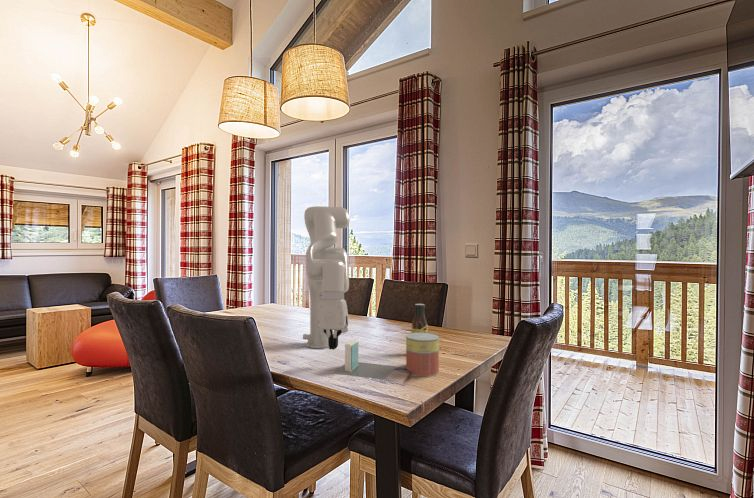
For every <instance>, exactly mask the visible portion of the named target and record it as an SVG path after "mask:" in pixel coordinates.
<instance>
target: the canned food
mask: <svg viewBox="0 0 754 498" xmlns="http://www.w3.org/2000/svg"><path fill="white" fill-rule="evenodd" d="M405 337H406V343H405V345H406V351H405V355H406V357H405V360H406V362H405V364H406V366H405V368H406V370H407V371H409V373H408V374H409V375H411V376H415V377H426V378H427V377H433V376H437V375H438V374H439V373H440V370H439V369H440V368H439V367H440V365H439V364H440V360H439V359H440V355H439V354H440V336H439V335H438V334H435V333H430V332H428V333H421V332H420V333H412V332H411V333H407V334H406V335H405Z"/></svg>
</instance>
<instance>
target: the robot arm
mask: <svg viewBox="0 0 754 498" xmlns="http://www.w3.org/2000/svg"><path fill="white" fill-rule="evenodd" d="M303 217H304V224H305V227H306V231H307V234H308V236H309V239H310V240H309V241H310V244H309V245H308V247H307V249H306V253H305V271H306V277H308V279H307V284H308V291H309V299H310V300H309V301H310V302H309V303H310V304H309V305H310V306H309V307H310V308H309V309H310V311H309V312H310V315H309V319H310V320H309V325H310V326H309V328H310V329H309V331H310V334H309V333H304V334H302V340H307V342H306V347H308V348H310V349H323V350H324V349H329V350H336V349H337V348H338V347H339V337H340V335H342V334H345V333H348V332H349V328H348V326H349V313H348V310H349V309H348V305H347V300H346V299H345V293H347V292H348V291H349V288H350V274H349V259H348V253H347V250H345V248H344V247H333V246H335V244H336V243H337V242H338V232H337V229H347V228H348V226H349V225H350V219H351V218H350V213H349V212H348V210H347V208H345V207H343V206H342V207H340V206H322V205H321V206H310V207H307V208H306V209H305V210H304V215H303Z"/></svg>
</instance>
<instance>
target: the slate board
mask: <svg viewBox="0 0 754 498" xmlns="http://www.w3.org/2000/svg"><path fill="white" fill-rule="evenodd" d="M396 367H397V365H389V364H380V363H372V362H371V363H369V362H363V361H362V362H360V361H358V366H357V367H355V368H354V369H353V370H352V371H351V372H350V371H345V363H344V364H342V365H341V366H340V367H339V368H338V369H336V370H335V371H333V372H332V374H333V375H342V376H352V377H359V378H367V379H376V380H384V381H385V380H386V379H387V378H388V376H389V375H390V374H392V372H393V371H394V370H395V369H396Z"/></svg>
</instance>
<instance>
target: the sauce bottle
mask: <svg viewBox="0 0 754 498" xmlns="http://www.w3.org/2000/svg"><path fill="white" fill-rule="evenodd" d="M425 309H426V304H424V303H415V304H414V312H415V313H414V317H413V318H412V322H411V324H412V325H411V333H420V332H421V333H429V331H428V330H429V328H428V322H427V318H426V315H425Z"/></svg>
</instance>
